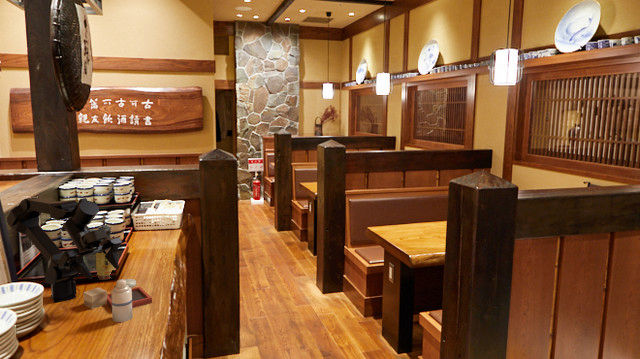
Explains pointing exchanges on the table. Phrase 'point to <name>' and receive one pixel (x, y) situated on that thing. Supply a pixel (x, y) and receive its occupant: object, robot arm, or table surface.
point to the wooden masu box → (95, 298)
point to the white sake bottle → (121, 302)
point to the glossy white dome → (130, 282)
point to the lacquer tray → (135, 297)
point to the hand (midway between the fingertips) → (105, 273)
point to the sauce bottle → (103, 263)
